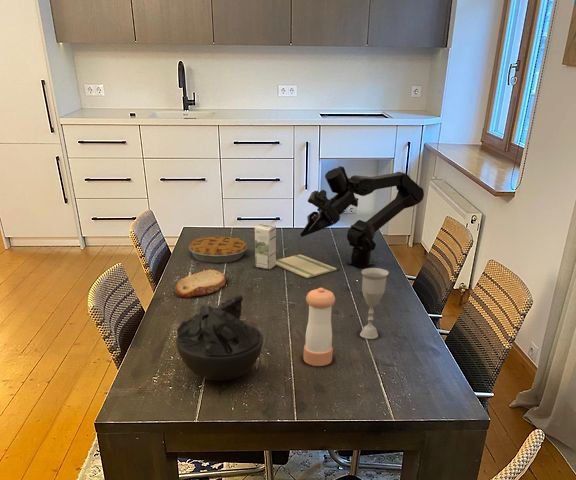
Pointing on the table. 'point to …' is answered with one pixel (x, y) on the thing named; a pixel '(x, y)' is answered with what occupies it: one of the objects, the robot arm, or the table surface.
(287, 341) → the table surface
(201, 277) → the bread slice
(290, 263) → the towel
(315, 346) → the pepper shaker
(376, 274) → the chalice
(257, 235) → the syrup box
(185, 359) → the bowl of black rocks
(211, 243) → the pie
